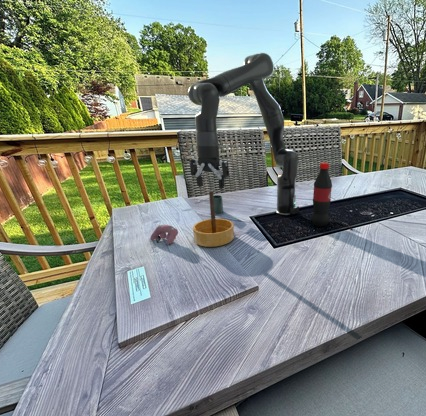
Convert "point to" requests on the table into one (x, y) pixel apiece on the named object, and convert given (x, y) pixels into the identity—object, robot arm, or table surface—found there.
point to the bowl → (209, 239)
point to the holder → (218, 204)
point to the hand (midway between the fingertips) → (210, 187)
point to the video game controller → (162, 232)
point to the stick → (212, 211)
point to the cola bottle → (322, 197)
